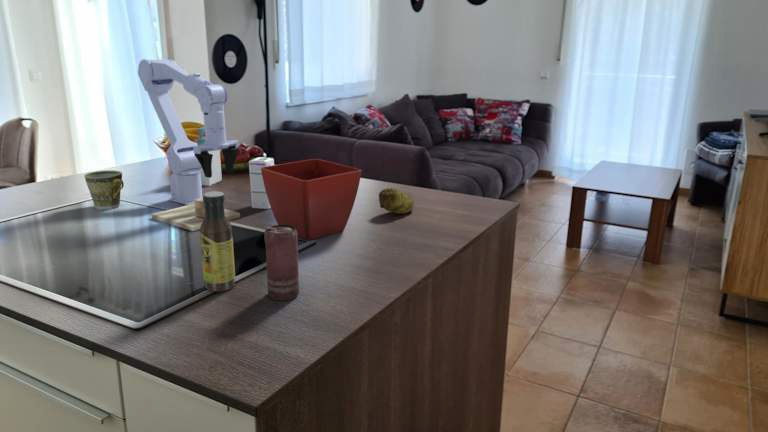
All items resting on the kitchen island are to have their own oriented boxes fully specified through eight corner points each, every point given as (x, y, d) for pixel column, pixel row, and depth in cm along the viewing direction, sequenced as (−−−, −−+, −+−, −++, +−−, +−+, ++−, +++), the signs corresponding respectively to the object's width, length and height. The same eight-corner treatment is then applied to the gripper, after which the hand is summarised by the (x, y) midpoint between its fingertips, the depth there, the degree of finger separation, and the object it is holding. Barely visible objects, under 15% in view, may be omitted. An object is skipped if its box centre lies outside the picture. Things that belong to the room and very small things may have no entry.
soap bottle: (222, 180, 207) (218, 126, 202) (209, 186, 199) (205, 130, 194) (200, 178, 209) (196, 125, 204) (187, 184, 201) (182, 129, 195)
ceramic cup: (81, 208, 172) (76, 175, 169) (110, 200, 180) (106, 168, 177) (111, 215, 166) (107, 180, 163) (140, 206, 174) (136, 173, 172)
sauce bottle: (202, 283, 121) (194, 190, 116) (233, 279, 124) (227, 187, 118) (206, 295, 116) (198, 198, 110) (238, 290, 118) (232, 195, 112)
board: (152, 218, 163) (151, 214, 163) (199, 206, 176) (199, 202, 176) (192, 231, 153) (192, 226, 153) (240, 217, 166) (239, 212, 166)
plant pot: (363, 230, 156) (363, 169, 151) (306, 247, 143) (304, 180, 138) (317, 215, 169) (316, 158, 164) (261, 229, 156) (258, 167, 151)
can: (268, 289, 119) (265, 223, 115) (299, 288, 120) (298, 223, 116) (265, 302, 113) (261, 233, 109) (298, 301, 114) (296, 233, 110)
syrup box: (269, 209, 174) (267, 161, 169) (251, 208, 175) (248, 160, 171) (276, 204, 179) (274, 157, 175) (258, 203, 180) (256, 156, 176)
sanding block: (195, 216, 161) (194, 199, 160) (207, 213, 165) (206, 196, 163) (212, 221, 158) (210, 204, 156) (223, 218, 161) (222, 200, 159)
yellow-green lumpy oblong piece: (423, 214, 172) (424, 187, 169) (385, 219, 166) (385, 192, 163) (408, 206, 179) (409, 181, 176) (371, 212, 173) (371, 186, 170)
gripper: (203, 132, 158) (207, 180, 162) (244, 126, 170) (247, 172, 174) (186, 130, 162) (191, 177, 166) (228, 124, 174) (231, 169, 178)
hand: (219, 174), depth 170 cm, fingers open, 7 cm apart
